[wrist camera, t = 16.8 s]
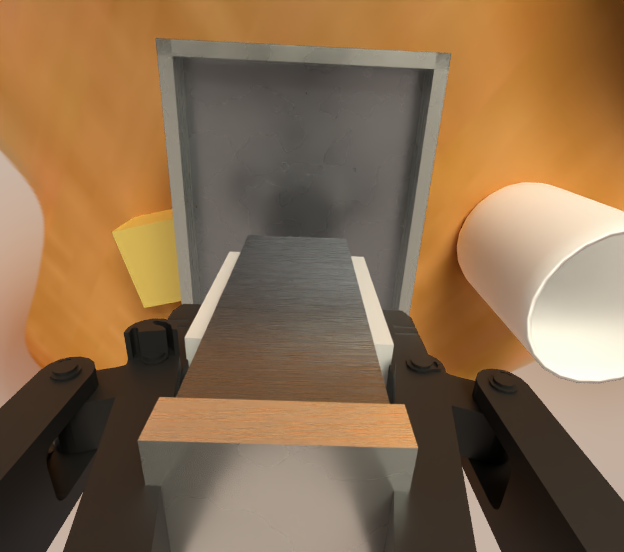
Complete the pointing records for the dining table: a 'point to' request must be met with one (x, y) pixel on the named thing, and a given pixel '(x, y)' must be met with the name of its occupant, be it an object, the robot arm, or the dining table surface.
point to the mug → (552, 276)
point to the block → (151, 256)
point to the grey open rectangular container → (300, 152)
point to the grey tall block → (282, 414)
